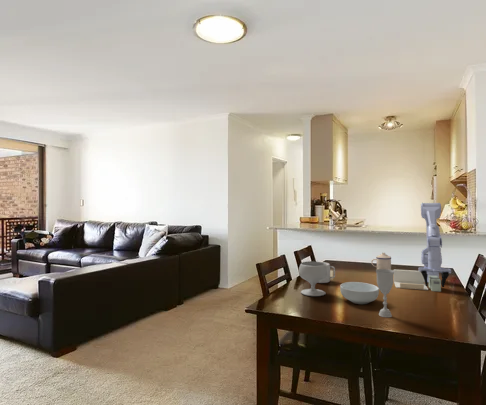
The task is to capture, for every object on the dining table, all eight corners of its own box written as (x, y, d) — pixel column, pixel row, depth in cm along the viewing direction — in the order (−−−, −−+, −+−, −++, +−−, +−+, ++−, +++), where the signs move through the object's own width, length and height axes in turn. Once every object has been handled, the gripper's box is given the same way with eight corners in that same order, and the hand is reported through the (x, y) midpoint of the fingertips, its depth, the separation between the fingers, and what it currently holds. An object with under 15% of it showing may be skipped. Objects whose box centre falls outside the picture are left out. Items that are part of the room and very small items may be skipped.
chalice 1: (315, 288, 179) (315, 260, 179) (333, 295, 166) (333, 264, 166) (293, 291, 173) (293, 262, 173) (310, 299, 160) (309, 267, 160)
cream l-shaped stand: (393, 281, 190) (393, 269, 190) (423, 283, 185) (423, 271, 185) (396, 287, 178) (395, 274, 177) (428, 290, 173) (428, 276, 172)
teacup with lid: (391, 269, 221) (391, 252, 221) (391, 272, 213) (391, 254, 213) (371, 268, 226) (371, 251, 226) (371, 271, 217) (371, 253, 217)
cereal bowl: (353, 309, 145) (353, 292, 145) (333, 298, 161) (333, 283, 161) (387, 305, 150) (387, 289, 150) (364, 294, 166) (364, 280, 166)
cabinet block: (428, 286, 180) (428, 275, 180) (437, 287, 178) (437, 275, 178) (432, 291, 170) (432, 279, 170) (441, 292, 169) (441, 280, 169)
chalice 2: (390, 312, 141) (389, 268, 140) (398, 317, 134) (397, 272, 134) (372, 312, 140) (372, 269, 140) (379, 318, 134) (379, 272, 133)
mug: (310, 282, 191) (310, 265, 191) (311, 278, 201) (311, 261, 201) (335, 283, 188) (335, 265, 187) (334, 279, 198) (334, 262, 198)
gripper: (420, 260, 173) (420, 287, 173) (452, 262, 168) (452, 289, 168) (417, 258, 180) (418, 283, 180) (449, 259, 175) (449, 285, 175)
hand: (434, 286), depth 175 cm, fingers open, 7 cm apart
